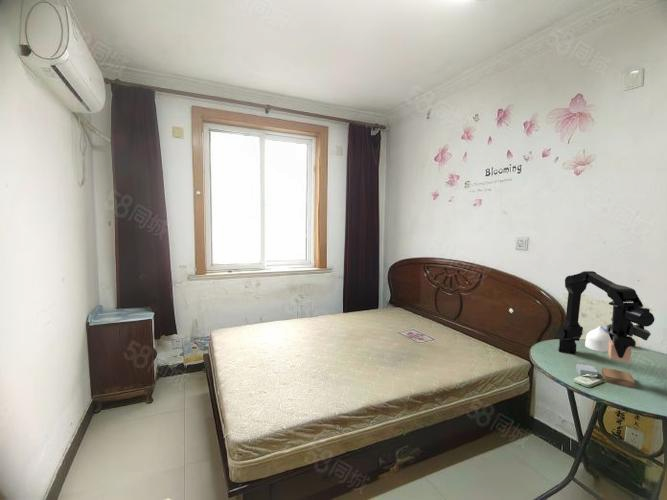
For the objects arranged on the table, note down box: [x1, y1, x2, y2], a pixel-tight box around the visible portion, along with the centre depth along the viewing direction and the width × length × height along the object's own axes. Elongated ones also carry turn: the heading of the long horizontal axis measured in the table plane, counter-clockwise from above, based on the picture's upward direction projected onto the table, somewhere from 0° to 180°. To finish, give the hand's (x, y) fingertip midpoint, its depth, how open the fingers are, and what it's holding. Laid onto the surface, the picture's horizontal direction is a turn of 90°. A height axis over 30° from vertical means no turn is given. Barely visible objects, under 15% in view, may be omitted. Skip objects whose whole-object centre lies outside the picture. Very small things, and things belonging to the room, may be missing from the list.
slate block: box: [575, 363, 599, 377], centre depth 135 cm, size 6×6×3 cm
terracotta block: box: [607, 340, 632, 363], centre depth 129 cm, size 6×6×6 cm
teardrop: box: [584, 325, 611, 353], centre depth 161 cm, size 11×11×12 cm
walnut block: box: [601, 366, 636, 389], centre depth 130 cm, size 9×9×3 cm
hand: (619, 354), depth 129 cm, fingers closed on terracotta block, 6 cm apart
